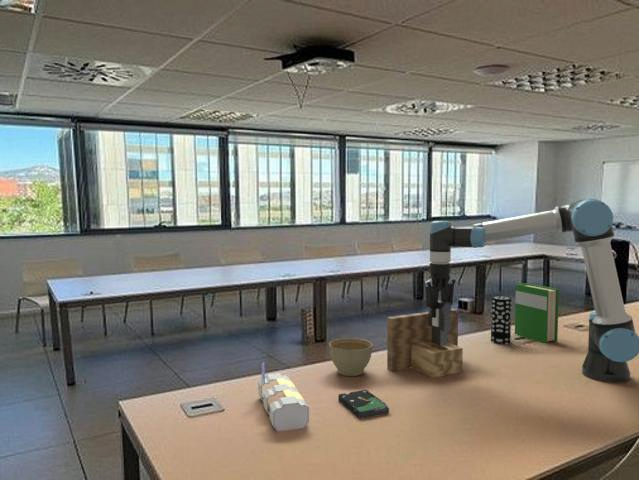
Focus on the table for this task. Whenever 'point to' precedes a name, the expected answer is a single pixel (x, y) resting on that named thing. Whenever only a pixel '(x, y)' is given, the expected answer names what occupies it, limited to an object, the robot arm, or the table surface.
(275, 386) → the white yellow segmented bar
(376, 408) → the disk drive
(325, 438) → the table surface
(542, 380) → the table surface
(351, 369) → the planter bowl
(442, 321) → the grey slab
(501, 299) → the spotted tube
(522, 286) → the hardback book
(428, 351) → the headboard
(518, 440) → the table surface
